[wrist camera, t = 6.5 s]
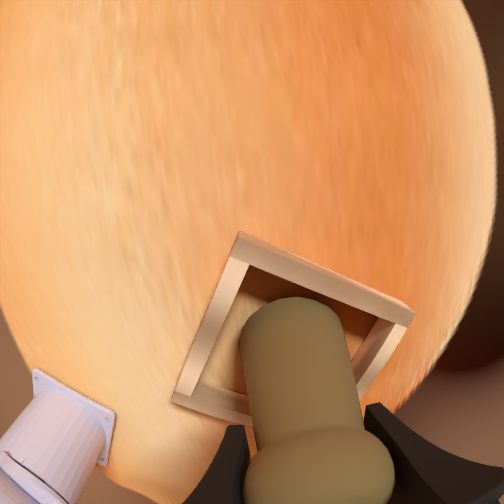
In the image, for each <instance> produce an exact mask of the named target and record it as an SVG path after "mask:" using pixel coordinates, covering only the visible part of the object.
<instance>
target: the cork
mask: <svg viewBox="0 0 504 504" xmlns="http://www.w3.org/2000/svg"><path fill="white" fill-rule="evenodd" d="M239 348H240V355H241V361H242V367H243V373H244V378H245V384H246V390H247V396H248V401H249V407H250V413H251V418H252V424H253V429H254V434H255V440H256V445H257V450H258V453H257V454H256V455H255V456H254V457H253V458H252V459H251V461H250V464H249V466H248V469H247V472H246V474H245V477H244V480H243V483H242V499H243V502H244V504H387V503H388V501H389V500H390V498H391V496H392V493H393V490H394V487H395V484H396V482H395V469H394V465H393V461H392V459H391V456H390V454H389V452H388V449H387V448H386V447H385V446H384V444H383V443H382V442H381V441H380V440H379V439H378V438H377V437H375V436H374V435H373V434H371V433H370V432H368V431H366V430H365V428H364V423H363V417H362V412H361V407H360V402H359V397H358V392H357V387H356V382H355V377H354V373H353V368H352V364H351V359H350V355H349V351H348V346H347V342H346V338H345V334H344V330H343V327H342V324H341V322H340V319H339V317H338V316H337V315H336V314H335V312H334V311H333V310H332V309H331V308H330V307H329V306H327V305H325V304H323V303H321V302H319V301H317V300H315V299H310V298H303V297H290V298H283V299H278V300H276V301H273V302H271V303H269V304H266V305H264V306H262V307H261V308H260V309H259V310H257V311H256V312H255V313H254V314H253V315H251V316H250V317H249V319H248V320H247V322H246V324H245V325H244V327H243V328H242V330H241V335H240V340H239Z"/></svg>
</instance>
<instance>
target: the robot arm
mask: <svg viewBox="0 0 504 504" xmlns="http://www.w3.org/2000/svg"><path fill="white" fill-rule="evenodd" d="M32 375H33V391H34V399H33V400H32V401H31V403H30V404H29V405H28V406H27V407H26V408H25V410H24V411H23V412H22V413H21V415H20V416H19V417H18V418H17V419H16V421H15V422H14V423H13V424H12V425H11V427H10V428H9V429H8V430H7V432H6V433H5V434H4V435H3V437H2V438H1V439H0V504H77V503H78V502H79V500H80V498H81V496H82V493H83V491H84V489H85V487H86V484H87V482H88V480H89V478H90V475H91V473H92V471H93V469H94V467H95V465H96V463H97V464H99V465H101V466H104V467H105V466H106V465H107V462H108V456H109V450H110V445H111V439H112V434H113V428H114V423H115V418H116V415H115V413H114V412H113V411H112V410H110V409H108V408H106V407H104V406H102V405H100V404H98V403H96V402H94V401H92V400H90V399H88V398H86V397H84V396H82V395H81V394H79V393H77V392H75V391H73V390H72V389H70V388H68V387H67V386H65V385H63V384H61V383H60V382H58V381H57V380H55V379H53V378H52V377H50V376H48V375H47V374H45V373H44V372H42V371H41V370H39V369H37V368H35V369H34V370H33V372H32ZM363 423H364V428H365V430H366V431H368V432H370V433H371V434H373V435H374V436H375V437H377V438H378V439H379V440H380V441H381V442H382V443H383V444H384V446H385V447H386V448H387V449H388V452H389V454H390V456H391V459H392V461H393V465H394V469H395V482H396V484H395V487H394V490H393V493H392V496H391V498H390V500H389V501H388V503H387V504H500V503H499V501H498V499H499V498H500V497H501V496H502V495H503V494H504V469H503V468H502V467H495V466H489V465H484V464H480V463H476V462H473V461H469V460H466V459H464V458H461V457H458V456H456V455H453V454H451V453H448V452H446V451H444V450H442V449H441V448H439V447H437V446H435V445H433V444H432V443H430V442H429V441H427V440H426V439H424V438H422V437H421V436H420V435H418V434H417V433H415V432H414V431H413V430H412V429H410V428H409V427H408V426H406V425H405V424H404V423H403V422H401V421H400V420H399V419H398V418H397V417H396V416H394V415H393V414H392V413H391V412H390V411H389V410H388V409H387V408H386V407H384V406H383V405H382V404H381V403H380V402H378V403H374V404H370V405H366V410H365V416H364V422H363ZM249 464H250V451H249V446H248V442H247V437H246V433H245V428H244V425H229V426H228V427H227V429H226V432H225V435H224V437H223V440H222V442H221V445H220V447H219V449H218V451H217V453H216V455H215V457H214V459H213V461H212V463H211V465H210V466H209V468H208V470H207V471H206V473H205V475H204V476H203V478H202V479H201V481H200V482H199V484H198V485H197V486H196V488H195V489H194V490H193V492H192V493H191V494H190V495H189V497H188V498H187V499H186V500H185V501H184V502H183V503H182V504H244V502H243V499H242V483H243V480H244V477H245V474H246V472H247V469H248V466H249Z"/></svg>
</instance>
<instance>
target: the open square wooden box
mask: <svg viewBox="0 0 504 504" xmlns="http://www.w3.org/2000/svg"><path fill="white" fill-rule="evenodd" d="M249 265H252V266H254V267H257V268H259V269H262V270H264V271H266V272H269V273H271V274H274V275H276V276H279V277H281V278H283V279H286V280H288V281H291V282H293V283H296V284H298V285H301V286H303V287H306V288H308V289H311V290H313V291H315V292H318V293H320V294H323V295H325V296H328V297H330V298H333V299H335V300H338V301H340V302H343V303H345V304H348V305H350V306H353V307H355V308H358V309H360V310H363V311H365V312H368V313H370V314H373V315H375V316H378V319H377V320H376V322H375V324H374V326H373V327H372V329H371V331H370V332H369V334H368V336H367V337H366V339H365V341H364V342H363V344H362V346H361V347H360V349H359V350H358V352H357V354H356V355H355V357H354V358H353V360H352V362H351V364H352V368H353V373H354V377H355V382H356V387H357V392H358V397H359V400H360V399H361V398H362V396H363V395H364V394H365V392H366V391H367V389H368V388H369V387H370V385H371V384H372V383H373V381H374V380H375V378H376V377H377V375H378V374H379V372H380V371H381V370H382V368H383V367H384V365H385V364H386V362H387V360H388V359H389V357H390V356H391V354H392V353H393V351H394V350H395V348H396V346H397V345H398V343H399V342H400V340H401V338H402V337H403V335H404V333H405V332H406V330H407V328H408V326H409V325H410V323H411V321H412V319H413V318H414V316H415V314H416V313H415V312H414V311H413V310H411V309H410V308H409V307H408V306H407V305H406V304H404V303H403V302H402V301H400V300H398V299H396V298H394V297H391V296H389V295H387V294H385V293H382V292H380V291H378V290H376V289H373V288H371V287H369V286H367V285H364V284H362V283H360V282H357V281H355V280H353V279H351V278H348V277H346V276H344V275H342V274H339V273H337V272H335V271H332V270H330V269H328V268H325V267H323V266H321V265H319V264H316V263H314V262H312V261H309V260H307V259H305V258H302V257H300V256H298V255H295V254H293V253H291V252H288V251H286V250H284V249H281V248H279V247H277V246H274V245H272V244H270V243H267V242H265V241H263V240H260V239H258V238H256V237H253V236H251V235H248V234H246V233H244V232H241V231H239V233H238V235H237V238H236V240H235V242H234V245H233V247H232V250H231V252H230V254H229V257H228V259H227V261H226V264H225V266H224V268H223V271H222V273H221V276H220V278H219V280H218V283H217V285H216V288H215V290H214V292H213V295H212V297H211V300H210V302H209V304H208V307H207V309H206V312H205V314H204V317H203V319H202V321H201V324H200V326H199V329H198V331H197V334H196V336H195V339H194V341H193V344H192V346H191V348H190V351H189V353H188V356H187V358H186V361H185V363H184V366H183V368H182V371H181V373H180V376H179V378H178V381H177V384H176V387H175V390H174V393H173V396H172V399H171V402H174V403H176V404H179V405H182V406H184V407H187V408H190V409H193V410H196V411H199V412H201V413H204V414H207V415H211V416H214V417H217V418H220V419H223V420H227V421H230V422H233V423H237V424H240V425H244V426H248V427H251V428H253V424H252V418H251V413H250V407H249V401H248V396H247V395H244V394H240V393H237V392H234V391H231V390H228V389H225V388H222V387H219V386H216V385H213V384H211V383H208V382H205V381H202V380H199V377H200V374H201V372H202V370H203V368H204V365H205V363H206V361H207V359H208V356H209V354H210V352H211V350H212V348H213V345H214V343H215V341H216V339H217V336H218V334H219V332H220V330H221V327H222V325H223V323H224V321H225V318H226V316H227V314H228V312H229V309H230V307H231V305H232V303H233V300H234V298H235V296H236V294H237V291H238V289H239V287H240V285H241V283H242V280H243V278H244V276H245V274H246V271H247V269H248V267H249Z"/></svg>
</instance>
